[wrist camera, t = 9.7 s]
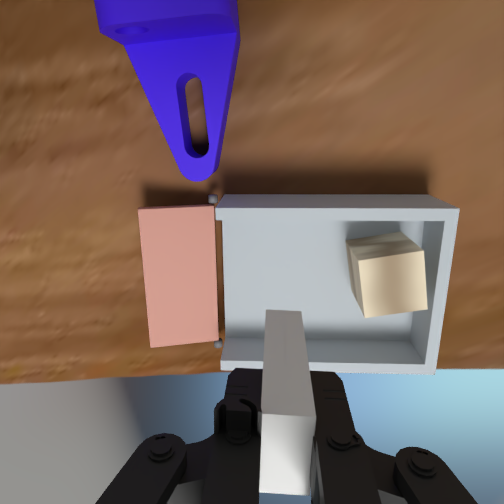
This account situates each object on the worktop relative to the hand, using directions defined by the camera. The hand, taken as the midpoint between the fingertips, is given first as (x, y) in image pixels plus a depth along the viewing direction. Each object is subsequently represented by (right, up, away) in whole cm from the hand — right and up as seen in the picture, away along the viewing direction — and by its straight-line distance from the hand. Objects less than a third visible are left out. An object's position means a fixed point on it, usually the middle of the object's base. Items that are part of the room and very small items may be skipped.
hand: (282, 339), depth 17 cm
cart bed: (+7, +2, +32) cm, 32 cm away
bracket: (-8, +21, +27) cm, 35 cm away
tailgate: (-10, +1, +30) cm, 32 cm away
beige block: (+12, +3, +28) cm, 31 cm away
